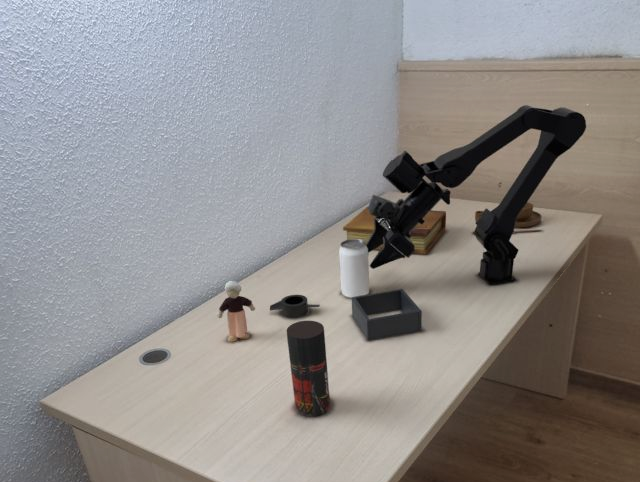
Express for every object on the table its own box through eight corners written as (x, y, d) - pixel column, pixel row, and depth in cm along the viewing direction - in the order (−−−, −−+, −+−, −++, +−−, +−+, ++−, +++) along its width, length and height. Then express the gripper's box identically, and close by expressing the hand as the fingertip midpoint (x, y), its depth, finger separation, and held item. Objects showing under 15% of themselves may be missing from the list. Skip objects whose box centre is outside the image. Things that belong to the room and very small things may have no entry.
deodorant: (294, 398, 107) (285, 322, 99) (328, 394, 107) (322, 318, 99) (296, 418, 102) (287, 340, 94) (331, 414, 102) (325, 336, 94)
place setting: (549, 231, 165) (552, 209, 162) (474, 236, 166) (476, 214, 163) (531, 210, 180) (533, 190, 177) (462, 215, 181) (463, 195, 178)
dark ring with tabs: (289, 300, 141) (287, 289, 139) (323, 310, 135) (322, 298, 134) (266, 314, 135) (265, 302, 134) (301, 324, 130) (300, 312, 128)
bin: (402, 307, 134) (402, 288, 131) (421, 330, 124) (421, 311, 122) (352, 316, 132) (351, 297, 129) (367, 340, 122) (366, 320, 120)
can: (358, 301, 138) (355, 251, 131) (335, 294, 141) (332, 245, 135) (375, 290, 142) (373, 241, 135) (353, 284, 145) (350, 236, 139)
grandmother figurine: (226, 346, 125) (216, 289, 118) (220, 338, 128) (210, 282, 121) (261, 335, 127) (253, 279, 121) (254, 328, 130) (246, 273, 124)
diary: (445, 230, 172) (446, 210, 169) (426, 255, 158) (426, 233, 155) (369, 224, 181) (368, 204, 178) (344, 246, 167) (343, 226, 164)
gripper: (382, 171, 137) (336, 224, 142) (398, 195, 121) (346, 253, 126) (416, 202, 141) (371, 252, 147) (437, 229, 125) (385, 284, 131)
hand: (367, 259), depth 137 cm, fingers open, 9 cm apart
